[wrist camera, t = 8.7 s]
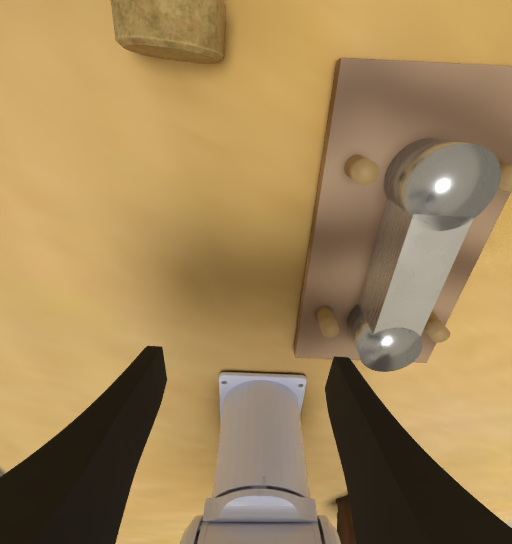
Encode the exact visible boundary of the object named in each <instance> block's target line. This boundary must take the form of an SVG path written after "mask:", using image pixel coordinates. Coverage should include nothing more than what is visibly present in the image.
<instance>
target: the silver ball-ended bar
mask: <svg viewBox="0 0 512 544" xmlns="http://www.w3.org/2000/svg"><path fill="white" fill-rule="evenodd" d="M500 176H501V170H500V165H499V162H498V160H497V158H496V156H495V155H494V154H493V153H492V152H491V151H490V150H489V149H487V148H485V147H483V146H479V145H475V144H469V143H463V142H457V141H451V140H445V139H439V138H423V139H420V140H417V141H414V142H412V143H410V144H409V145H407V146H406V147H404V148H403V149H402V150H401V151H399V152H398V153H397V155H396V156H395V157H394V158H393V159H392V161H391V162H390V164H389V166H388V168H387V170H386V174H385V178H384V191H385V194H386V197H387V202H386V205H385V209H384V212H383V216H382V220H381V223H380V227H379V230H378V234H377V238H376V241H375V245H374V248H373V252H372V256H371V259H370V263H369V266H368V270H367V274H366V277H365V281H364V284H363V288H362V292H361V295H360V299H359V302H358V305H356V306H355V307H354V308H353V309H352V310H351V312H350V313H349V315H348V318H347V326H348V329H349V331H350V334H351V336H352V339H353V341H354V344H355V346H356V349H357V351H358V354H359V356H360V359H361V361H362V363H363V364H364V365H365V366H366V367H368V368H370V369H372V370H375V371H381V372H388V371H395V370H398V369H401V368H404V367H406V366H408V365H409V364H411V363H412V362H413V361H415V360H416V359H417V358H418V356H419V355H420V353H421V351H422V348H423V342H422V339H421V337H420V336H421V334H422V332H423V330H424V328H425V325H426V323H427V321H428V319H429V316H430V314H431V312H432V310H433V308H434V305H435V303H436V301H437V299H438V296H439V294H440V292H441V290H442V288H443V285H444V283H445V281H446V279H447V276H448V274H449V272H450V270H451V268H452V265H453V263H454V261H455V259H456V256H457V254H458V252H459V250H460V248H461V245H462V243H463V241H464V239H465V236H466V234H467V232H468V230H469V228H470V225H471V223H472V221H473V219H474V218H476V217H477V216H478V215H479V214H480V213H481V212H482V211H483V210H484V209H485V208H486V207H487V206H488V205H489V203H490V202H491V201H492V199H493V197H494V195H495V194H496V191H497V189H498V186H499V182H500Z"/></svg>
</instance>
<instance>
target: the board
mask: <svg viewBox="0 0 512 544" xmlns="http://www.w3.org/2000/svg"><path fill="white" fill-rule="evenodd" d="M423 138H439V139H445V140H451V141H457V142H463V143H469V144H475V145H479V146H483V147H485V148H487V149H489V150H490V151H491V152H492V153H493V154H494V155H495V156H496V158H497V160H498V162H499V165H500V170H501V176H500V182H499V186H498V189H497V191H496V194H495V195H494V197H493V199H492V201H491V202H490V203H489V205H488V206H487V207H486V208H485V209H484V210H483V211H482V212H481V213H480V214H479V215H478V216H477V217H476V218H474V219H473V221H472V223H471V225H470V228H469V230H468V232H467V234H466V236H465V239H464V241H463V243H462V245H461V248H460V250H459V252H458V254H457V256H456V259H455V261H454V263H453V265H452V268H451V270H450V272H449V274H448V276H447V279H446V281H445V283H444V285H443V288H442V290H441V292H440V294H439V296H438V299H437V301H436V303H435V305H434V308H433V310H432V312H431V314H430V316H429V319H428V321H427V323H426V325H425V328H424V330H423V332H422V334H421V336H420V337H421V339H422V342H423V348H422V351H421V353H420V355H419V356H418V358H417V359H416V360H415V361H413V362H417V363H427V361H428V359H429V357H430V355H431V353H432V351H433V349H434V347H435V345H436V343H437V342H443V341H445V340H447V339H448V338H449V336H450V332H449V330H448V329H447V328H446V327H445V324H446V322H447V320H448V318H449V316H450V314H451V312H452V310H453V308H454V306H455V304H456V302H457V300H458V298H459V296H460V294H461V292H462V290H463V288H464V286H465V284H466V282H467V280H468V278H469V276H470V274H471V272H472V270H473V268H474V266H475V264H476V262H477V260H478V258H479V256H480V254H481V252H482V250H483V248H484V246H485V244H486V242H487V240H488V238H489V236H490V234H491V232H492V230H493V228H494V225H495V223H496V221H497V219H498V217H499V215H500V213H501V211H502V209H503V207H504V205H505V203H506V201H507V199H508V197H509V195H510V193H511V192H512V66H503V65H482V64H460V63H439V62H418V61H397V60H376V59H355V58H341V59H339V60H337V62H336V68H335V75H334V82H333V89H332V95H331V102H330V109H329V115H328V122H327V129H326V136H325V142H324V149H323V156H322V163H321V169H320V176H319V183H318V189H317V196H316V203H315V210H314V216H313V223H312V230H311V236H310V243H309V250H308V257H307V263H306V270H305V277H304V283H303V290H302V297H301V304H300V310H299V317H298V324H297V331H296V337H295V344H294V354H295V358H317V359H333V358H334V356H335V357H349V358H350V360H361V359H360V356H359V354H358V351H357V349H356V346H355V344H354V341H353V339H352V336H351V334H350V331H349V329H348V326H347V318H348V315H349V313H350V312H351V310H352V309H353V308H354V307H355V306H356V305H358V302H359V299H360V295H361V292H362V288H363V284H364V281H365V277H366V274H367V270H368V266H369V263H370V259H371V256H372V252H373V248H374V245H375V241H376V238H377V234H378V230H379V227H380V223H381V220H382V216H383V212H384V209H385V205H386V202H387V197H386V194H385V191H384V178H385V174H386V170H387V168H388V166H389V164H390V162H391V161H392V159H393V158H394V157H395V156H396V155H397V153H398V152H399V151H401V150H402V149H403V148H404V147H406V146H407V145H409V144H410V143H412V142H414V141H417V140H420V139H423Z"/></svg>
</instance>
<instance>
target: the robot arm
mask: <svg viewBox="0 0 512 544" xmlns="http://www.w3.org/2000/svg"><path fill="white" fill-rule="evenodd" d="M166 382H167V376H166V369H165V363H164V356H163V349H162V347H157V346H147V347H146V348H145V349H144V350H143V351H142V352H141V353H140V354H139V355H138V357H137V358H136V359H135V360H134V361H133V362H132V363H131V364H130V366H129V367H128V368H127V369H126V370H125V371H124V372H123V373H122V374H121V375H120V376H119V377H118V378H117V379H116V380H115V382H114V383H113V384H112V385H111V386H110V387H109V388H108V389H107V390H106V391H105V392H104V393H103V394H102V395H101V396H100V397H99V398H98V399H97V400H95V401H94V402H93V403H92V404H91V405H90V406H89V407H88V408H87V409H86V410H85V411H84V412H83V413H82V414H81V415H79V416H78V417H77V418H76V419H75V420H74V421H73V422H72V423H70V424H69V425H68V426H67V427H66V428H64V429H63V430H62V431H61V432H60V433H58V434H57V435H56V436H55V437H54V438H52V439H51V440H50V441H48V442H47V443H46V444H45V445H43V446H42V447H41V448H40V449H38V450H37V451H36V452H34V453H33V454H32V455H31V456H29V457H28V458H27V459H25V460H24V461H22V462H21V463H20V464H18V465H17V466H15V467H14V468H13V469H11V470H10V471H8V472H7V473H5V474H4V475H3V476H1V477H0V544H115V543H116V539H117V535H118V531H119V527H120V524H121V520H122V516H123V513H124V509H125V506H126V502H127V499H128V495H129V492H130V488H131V485H132V481H133V478H134V474H135V472H136V469H137V466H138V463H139V460H140V457H141V455H142V452H143V450H144V447H145V444H146V442H147V439H148V437H149V434H150V431H151V429H152V426H153V424H154V421H155V418H156V416H157V413H158V410H159V408H160V405H161V401H162V398H163V394H164V390H165V386H166ZM306 383H307V380H306V377H305V376H304V375H288V374H263V373H237V372H222V373H220V374H219V396H220V421H221V429H220V437H219V445H218V453H217V461H216V469H215V477H214V485H213V492H212V498H208V499H206V501H205V508H204V515H198V516H196V517H194V519H193V520H192V522H191V523H190V525H189V526H188V527H187V528H186V530H185V531H184V533H183V536H182V538H181V541H180V544H341V542H340V539H339V535H338V533H337V530H336V529H335V527H334V526H333V525H332V524H331V523H330V522H329V520H328V518H327V517H326V516H324V515H318V516H317V512H316V505H315V499H314V498H310V491H309V484H308V476H307V468H306V460H305V452H304V444H303V436H302V428H301V421H300V413H301V408H302V403H303V398H304V393H305V388H306ZM325 392H326V400H327V407H328V413H329V417H330V421H331V425H332V429H333V433H334V437H335V441H336V445H337V448H338V452H339V456H340V460H341V464H342V468H343V471H344V476H345V480H346V485H347V491H348V496H349V502H350V508H351V514H352V520H353V527H354V533H355V539H356V544H512V528H511V527H509V526H508V525H507V524H506V523H504V522H503V521H502V520H500V519H499V518H498V517H497V516H496V515H494V514H493V513H492V512H491V511H490V510H488V509H487V508H486V507H485V506H484V505H483V504H481V503H480V502H479V501H478V500H477V499H475V498H474V497H473V496H472V495H471V494H470V493H469V492H467V491H466V490H465V489H464V488H463V487H462V486H461V485H460V484H459V483H458V482H457V481H455V480H454V479H453V478H452V477H451V476H450V475H449V474H448V473H447V472H446V471H445V470H444V469H442V468H441V467H440V466H439V465H438V464H437V463H436V462H435V461H434V460H433V459H432V458H431V457H430V456H429V455H428V454H427V453H426V452H425V451H424V450H423V449H422V448H421V447H420V446H419V445H418V444H417V442H416V441H415V440H414V439H413V438H412V437H411V436H410V435H409V434H408V433H407V431H406V430H405V429H404V428H403V427H402V426H401V425H400V423H399V422H398V421H397V420H396V419H395V418H394V416H393V415H392V414H391V413H390V412H389V410H388V409H387V408H386V407H385V405H384V404H383V403H382V402H381V400H380V399H379V398H378V396H377V395H376V394H375V393H374V391H373V390H372V389H371V387H370V386H369V385H368V383H367V382H366V381H365V379H364V378H363V376H362V375H361V374H360V372H359V371H358V369H357V368H356V367H355V365H354V364H353V362H352V361H351V360H350V358H349V357H335V356H334V358H333V362H332V365H331V369H330V372H329V376H328V379H327V383H326V386H325Z"/></svg>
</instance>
